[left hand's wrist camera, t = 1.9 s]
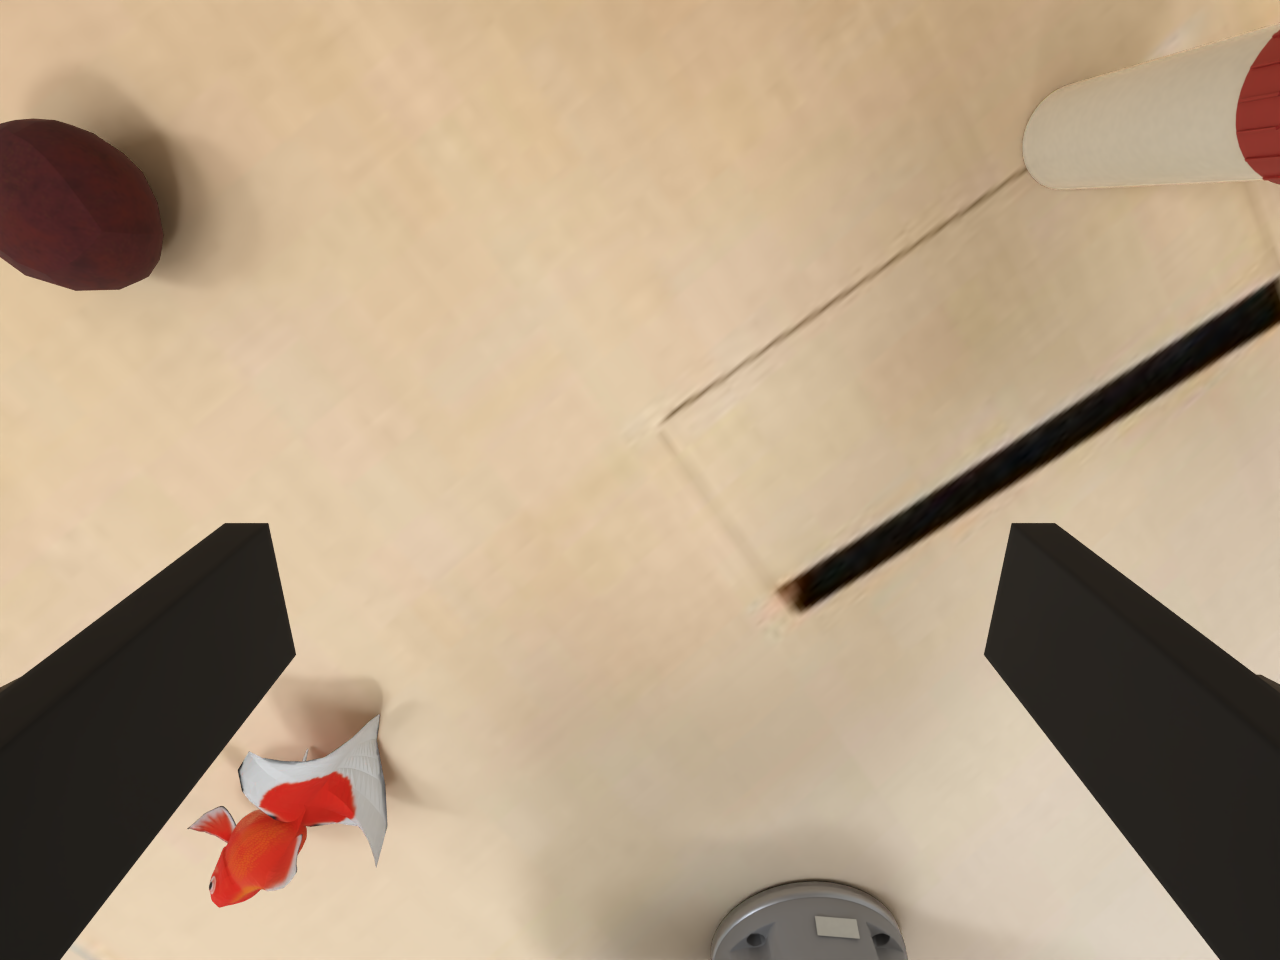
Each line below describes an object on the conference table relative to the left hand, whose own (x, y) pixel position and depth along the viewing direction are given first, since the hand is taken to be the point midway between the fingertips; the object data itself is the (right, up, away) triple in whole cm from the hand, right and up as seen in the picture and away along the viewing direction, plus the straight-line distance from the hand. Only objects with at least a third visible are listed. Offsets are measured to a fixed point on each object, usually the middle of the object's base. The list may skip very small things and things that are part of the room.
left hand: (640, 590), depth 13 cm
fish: (-23, -18, +37) cm, 47 cm away
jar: (+22, +19, +23) cm, 37 cm away
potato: (-27, +16, +24) cm, 39 cm away
